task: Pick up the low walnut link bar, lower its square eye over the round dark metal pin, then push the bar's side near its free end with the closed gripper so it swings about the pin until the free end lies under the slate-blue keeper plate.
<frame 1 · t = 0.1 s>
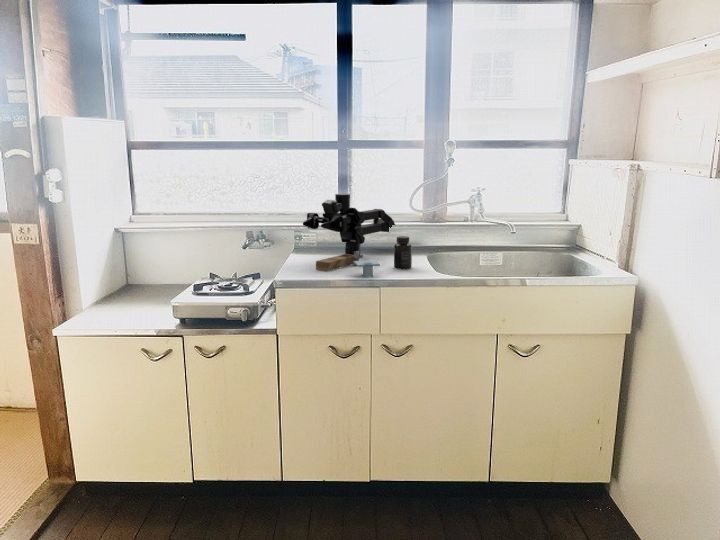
hand: (312, 224, 200), 17 cm above the worktop, tool horizontal, fingers open, 9 cm apart
supplement bottle: (402, 268, 203), on the worktop
link: (321, 270, 199), on the worktop
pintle: (356, 265, 208), on the worktop
keeper: (367, 275, 190), on the worktop
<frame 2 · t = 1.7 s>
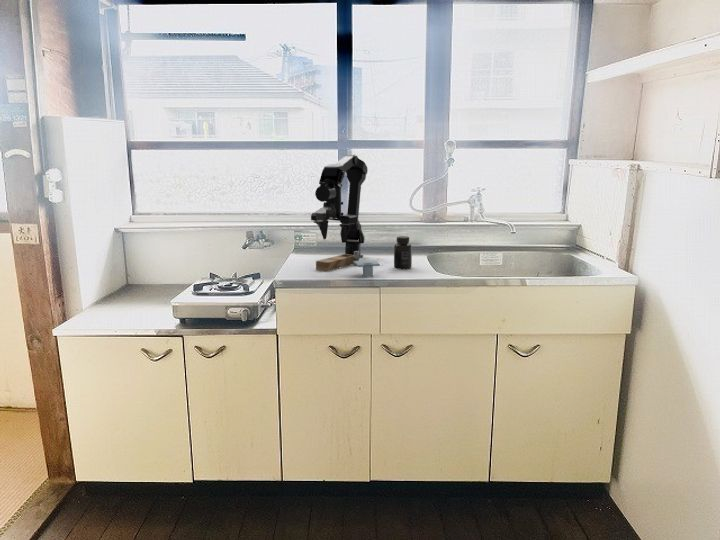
hand: (333, 240, 202), 10 cm above the worktop, tool pointing down, fingers open, 9 cm apart
nothing on the worktop moved.
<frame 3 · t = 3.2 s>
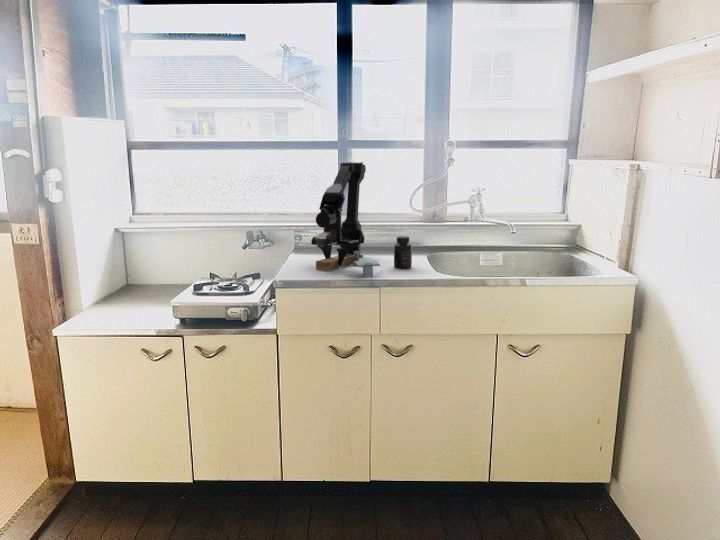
hand: (334, 264, 204), 1 cm above the worktop, tool pointing down, fingers closed on link, 5 cm apart
link: (321, 270, 199), on the worktop, touching gripper
everything else where it was.
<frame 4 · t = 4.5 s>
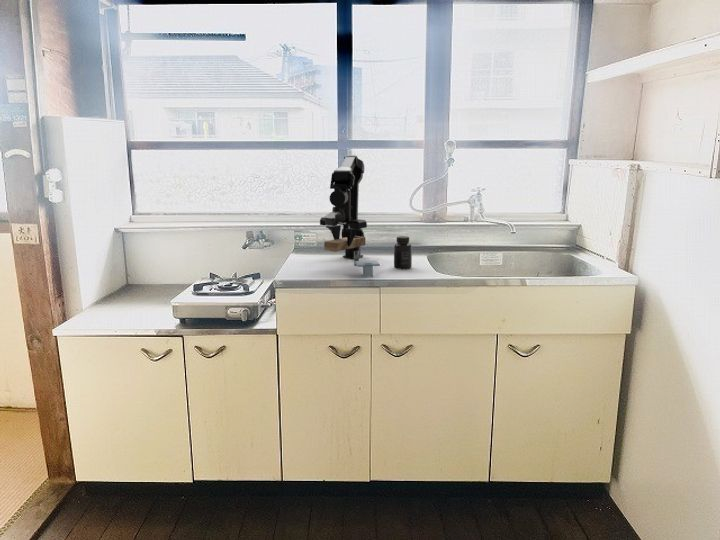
hand: (343, 245, 200), 9 cm above the worktop, tool pointing down, fingers closed on link, 5 cm apart
link: (330, 250, 194), point 8 cm above the worktop, touching gripper
everything else where it was.
when the fingers open (2 cm above the worktop, at t = 6.3 s): link stays where it is, on the worktop.
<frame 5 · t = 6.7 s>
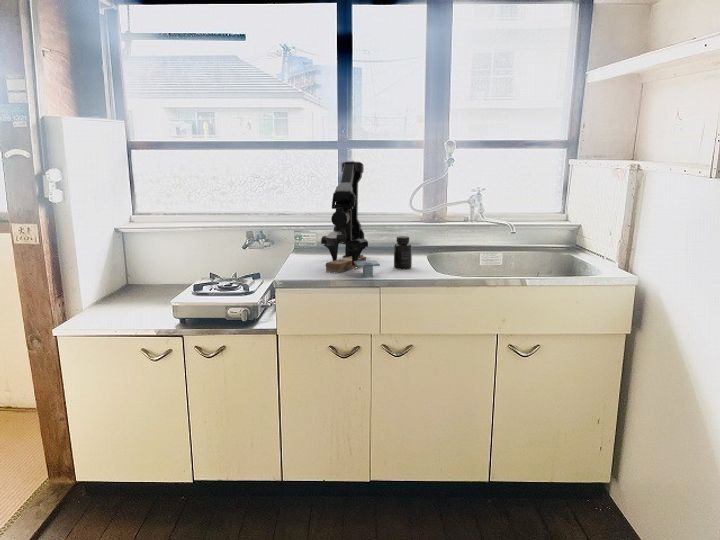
hand: (344, 263, 201), 2 cm above the worktop, tool pointing down, fingers open, 9 cm apart
link: (331, 272, 196), on the worktop
everything else where it was.
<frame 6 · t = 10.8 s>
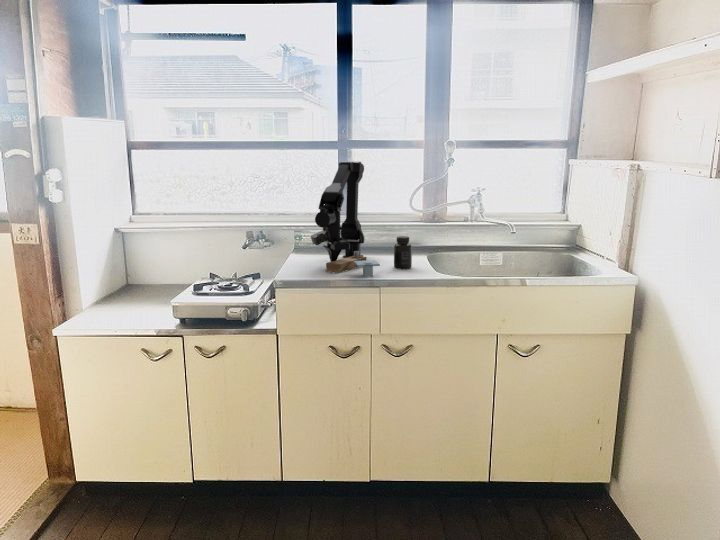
hand: (333, 264, 202), 1 cm above the worktop, tool pointing down, fingers closed
link: (331, 272, 196), on the worktop, touching gripper
everything else where it was.
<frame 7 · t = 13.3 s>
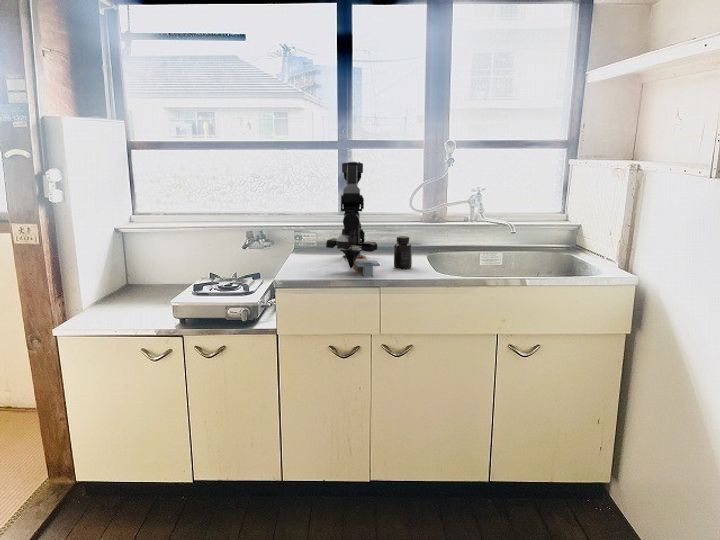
hand: (351, 267, 197), 1 cm above the worktop, tool pointing down, fingers closed
link: (364, 274, 192), on the worktop, touching gripper, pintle
everything else where it was.
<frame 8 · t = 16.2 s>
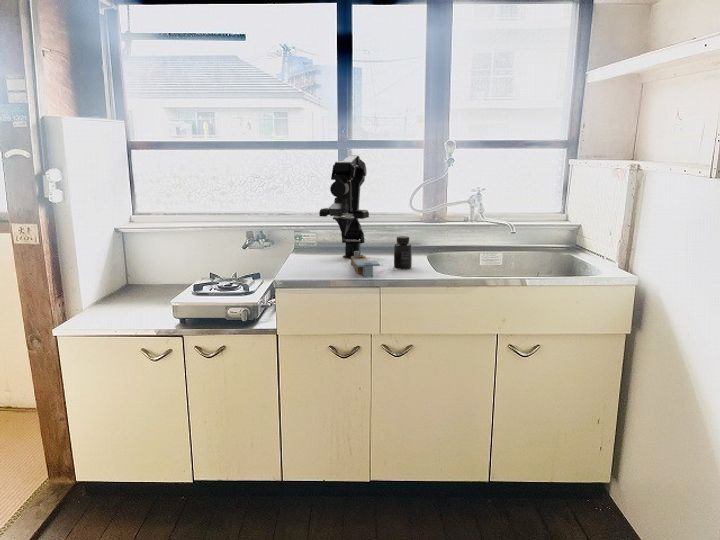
hand: (344, 235, 204), 12 cm above the worktop, tool pointing down, fingers closed
link: (365, 274, 192), on the worktop
everything else where it was.
at the end: link 2.5 cm from the keeper (horizontally); link 16.1 cm from the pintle (horizontally); link tilted 0° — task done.
